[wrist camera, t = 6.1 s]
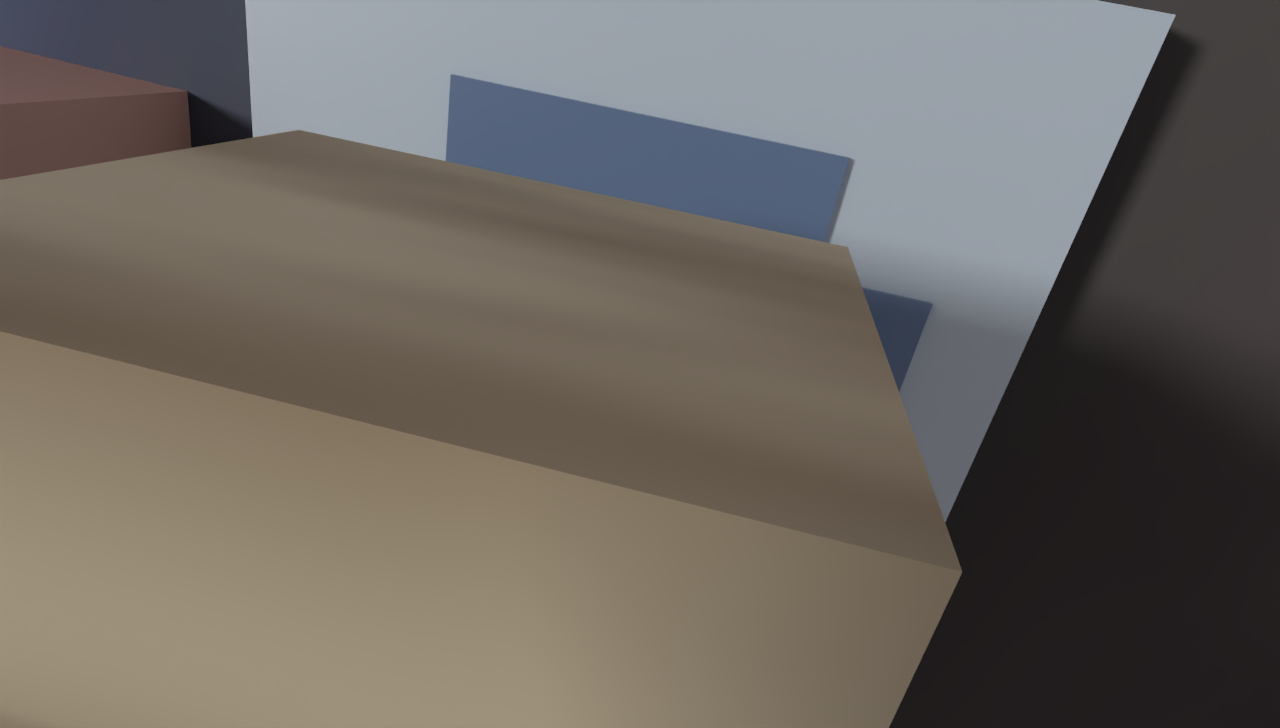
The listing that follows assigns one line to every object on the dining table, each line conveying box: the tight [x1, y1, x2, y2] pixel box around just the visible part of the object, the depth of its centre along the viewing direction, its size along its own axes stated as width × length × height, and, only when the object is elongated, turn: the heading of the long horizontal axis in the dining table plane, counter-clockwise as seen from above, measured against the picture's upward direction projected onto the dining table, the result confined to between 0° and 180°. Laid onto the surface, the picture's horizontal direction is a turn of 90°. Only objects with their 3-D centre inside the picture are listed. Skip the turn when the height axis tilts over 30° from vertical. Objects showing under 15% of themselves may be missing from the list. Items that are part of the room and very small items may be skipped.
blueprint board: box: [245, 0, 1175, 522], centre depth 14 cm, size 16×14×1 cm
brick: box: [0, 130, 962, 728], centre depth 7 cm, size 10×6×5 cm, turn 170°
